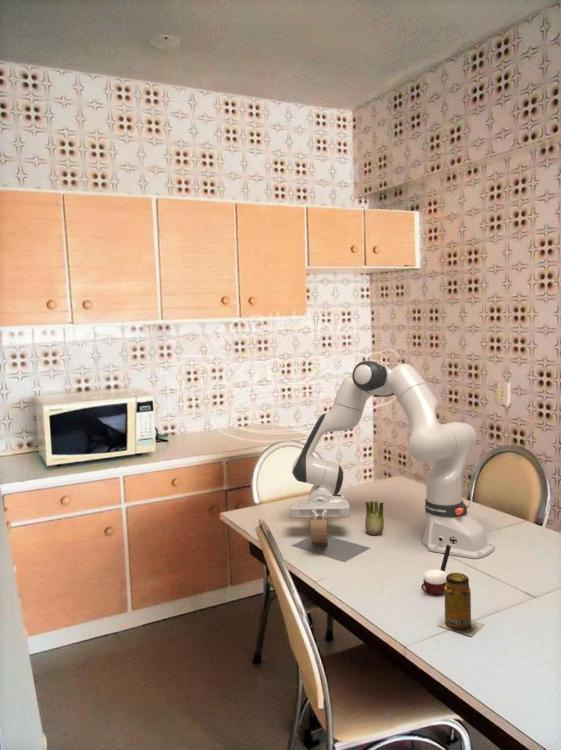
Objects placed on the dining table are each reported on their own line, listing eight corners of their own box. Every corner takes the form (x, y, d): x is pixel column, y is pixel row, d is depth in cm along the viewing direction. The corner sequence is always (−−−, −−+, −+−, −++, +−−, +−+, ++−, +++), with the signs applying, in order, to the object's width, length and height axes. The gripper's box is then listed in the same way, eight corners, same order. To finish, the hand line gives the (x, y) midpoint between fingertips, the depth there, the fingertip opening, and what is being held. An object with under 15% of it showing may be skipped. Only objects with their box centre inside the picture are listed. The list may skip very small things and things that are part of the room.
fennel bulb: (385, 534, 206) (384, 500, 205) (378, 539, 203) (377, 504, 201) (370, 531, 210) (369, 497, 209) (363, 535, 206) (362, 501, 205)
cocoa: (423, 599, 160) (421, 557, 158) (417, 588, 166) (414, 547, 164) (458, 595, 160) (456, 553, 159) (451, 584, 166) (448, 543, 165)
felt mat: (370, 549, 194) (370, 547, 194) (344, 563, 184) (344, 562, 184) (318, 534, 209) (317, 533, 209) (291, 546, 199) (291, 545, 199)
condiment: (452, 614, 151) (451, 568, 150) (484, 625, 145) (484, 577, 144) (437, 626, 146) (436, 578, 144) (470, 637, 140) (470, 588, 139)
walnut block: (312, 530, 201) (310, 519, 191) (327, 530, 200) (326, 519, 190) (312, 545, 198) (310, 535, 188) (327, 545, 198) (326, 535, 188)
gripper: (290, 496, 212) (287, 508, 199) (348, 495, 211) (349, 507, 197) (291, 513, 213) (288, 527, 199) (349, 512, 211) (350, 526, 197)
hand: (319, 517), depth 198 cm, fingers closed
